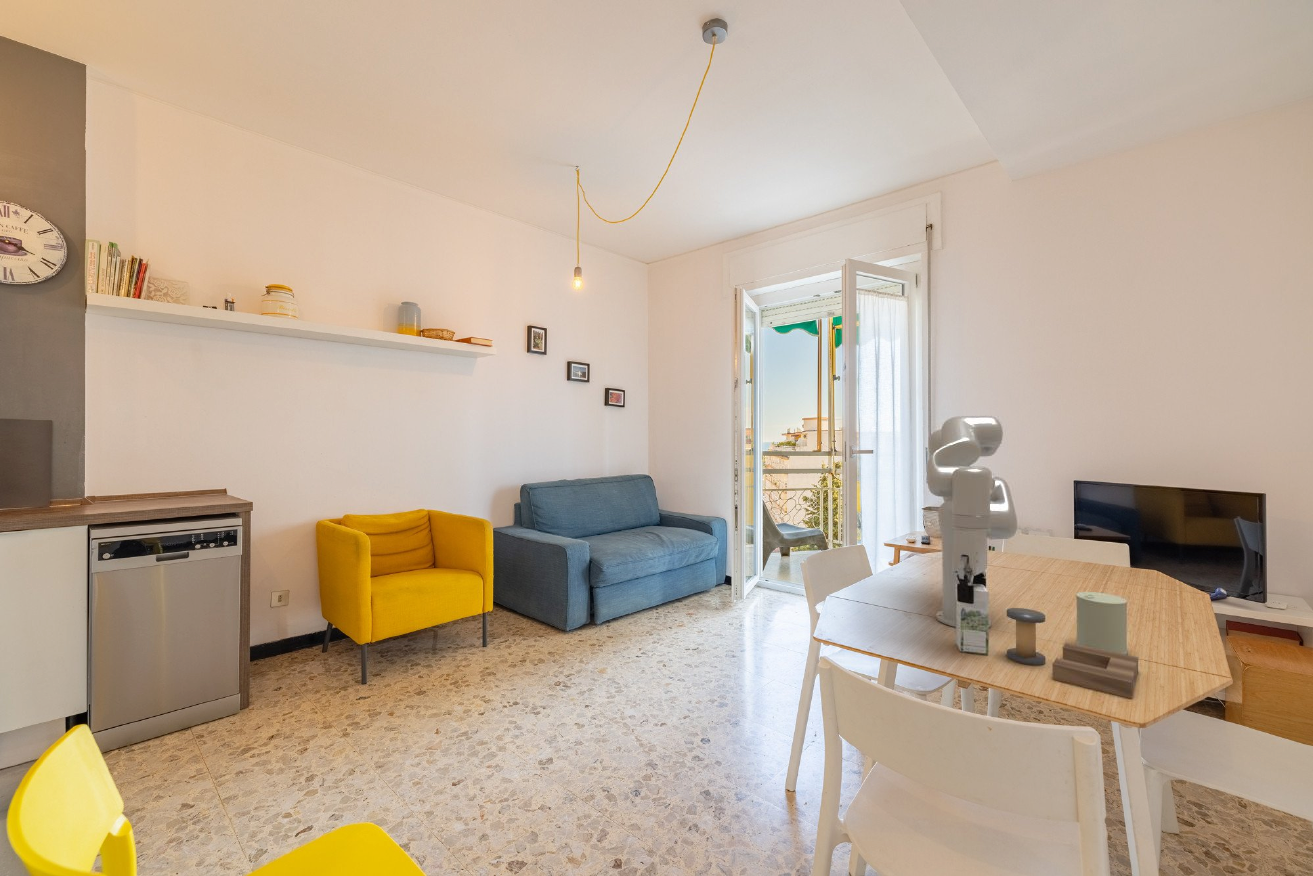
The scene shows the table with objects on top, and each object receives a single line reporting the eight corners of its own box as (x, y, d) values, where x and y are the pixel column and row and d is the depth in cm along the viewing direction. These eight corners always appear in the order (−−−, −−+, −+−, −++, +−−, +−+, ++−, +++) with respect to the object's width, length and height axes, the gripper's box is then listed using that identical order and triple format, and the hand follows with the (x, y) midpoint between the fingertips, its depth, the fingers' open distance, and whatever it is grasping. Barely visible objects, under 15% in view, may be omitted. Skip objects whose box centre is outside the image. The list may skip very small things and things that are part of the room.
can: (1066, 640, 131) (1066, 589, 131) (1106, 640, 131) (1106, 589, 131) (1095, 655, 122) (1095, 601, 122) (1139, 655, 122) (1138, 601, 122)
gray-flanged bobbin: (1010, 650, 125) (1010, 605, 125) (1048, 658, 121) (1048, 612, 120) (1003, 659, 120) (1003, 613, 120) (1042, 668, 115) (1041, 620, 115)
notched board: (1066, 655, 122) (1066, 642, 122) (1138, 671, 114) (1138, 657, 114) (1052, 679, 111) (1052, 664, 111) (1131, 698, 102) (1131, 682, 102)
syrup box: (983, 646, 128) (982, 583, 128) (989, 656, 122) (989, 590, 122) (955, 643, 130) (955, 581, 130) (960, 652, 124) (959, 588, 124)
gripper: (964, 517, 134) (965, 588, 134) (940, 524, 122) (941, 602, 122) (1000, 520, 129) (1000, 594, 129) (979, 528, 117) (979, 609, 116)
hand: (972, 598), depth 125 cm, fingers open, 9 cm apart
